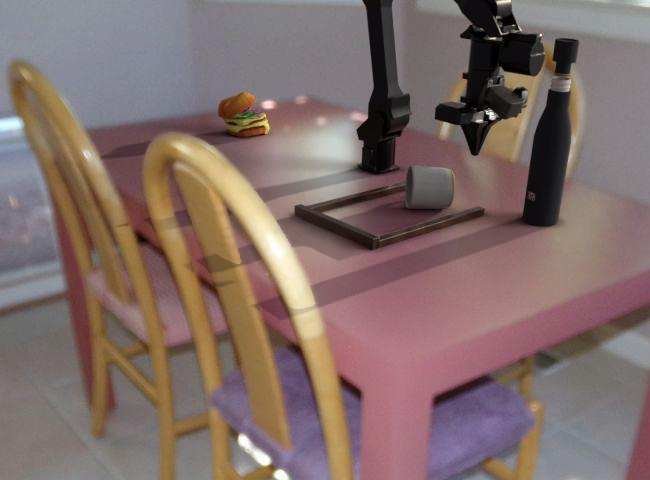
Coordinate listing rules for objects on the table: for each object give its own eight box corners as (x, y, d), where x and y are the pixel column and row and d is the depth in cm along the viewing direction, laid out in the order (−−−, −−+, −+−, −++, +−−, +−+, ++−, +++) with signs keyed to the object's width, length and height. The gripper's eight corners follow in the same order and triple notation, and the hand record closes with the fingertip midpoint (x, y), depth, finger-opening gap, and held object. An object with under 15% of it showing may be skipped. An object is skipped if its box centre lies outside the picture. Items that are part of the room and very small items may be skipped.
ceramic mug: (454, 214, 143) (458, 171, 140) (410, 214, 142) (413, 171, 138) (442, 196, 152) (445, 155, 149) (400, 196, 151) (402, 155, 147)
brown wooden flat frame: (405, 186, 156) (406, 177, 155) (484, 214, 144) (485, 205, 143) (294, 215, 139) (294, 205, 138) (372, 249, 127) (373, 239, 126)
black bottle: (560, 217, 145) (590, 39, 129) (555, 228, 140) (585, 44, 124) (525, 212, 146) (550, 35, 131) (518, 222, 141) (544, 40, 126)
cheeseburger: (267, 138, 181) (255, 94, 176) (223, 148, 182) (209, 104, 177) (273, 127, 190) (262, 84, 185) (230, 136, 191) (217, 93, 186)
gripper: (485, 81, 133) (475, 174, 141) (551, 71, 144) (538, 157, 152) (436, 70, 139) (429, 159, 148) (503, 61, 151) (493, 144, 159)
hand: (474, 155), depth 151 cm, fingers closed
